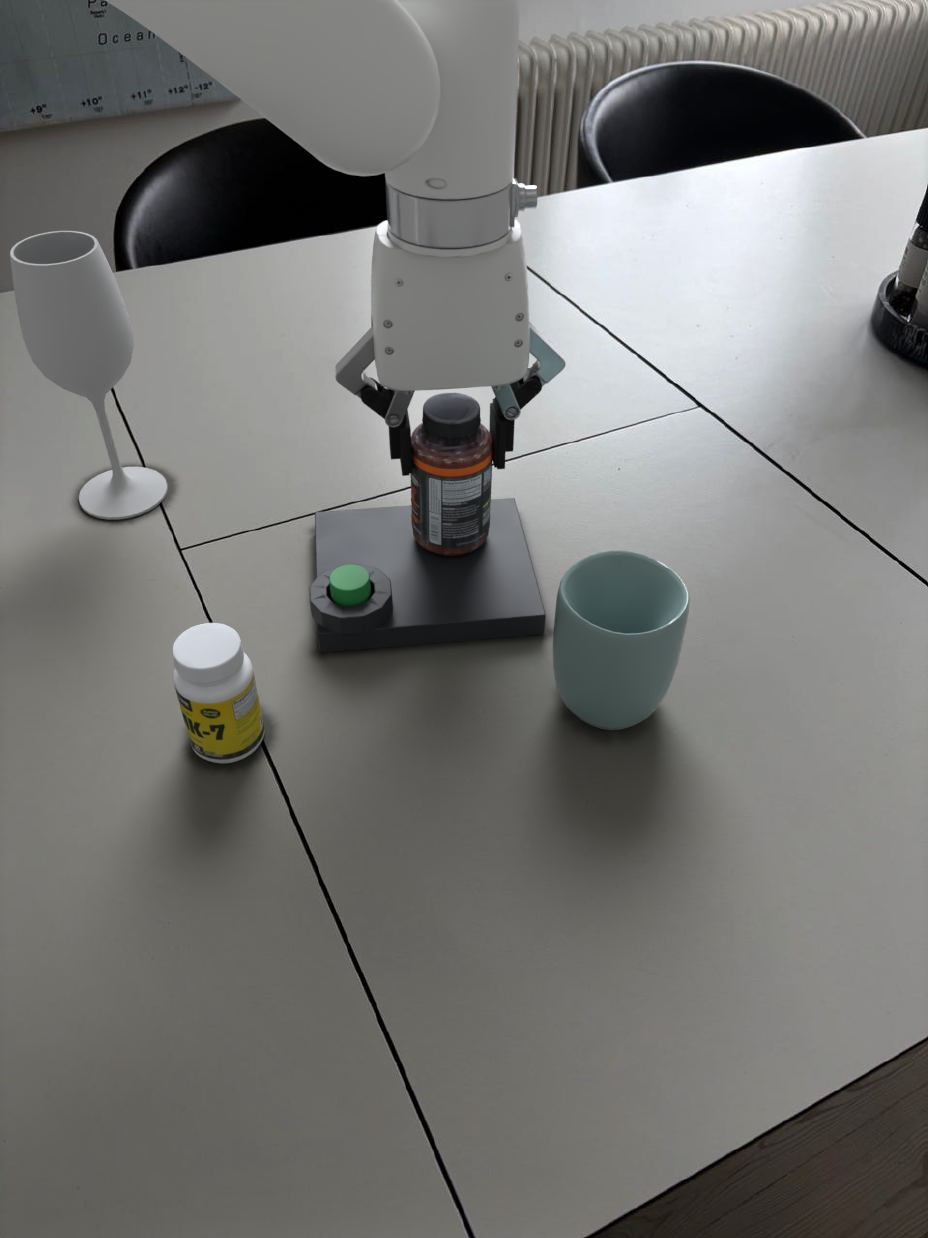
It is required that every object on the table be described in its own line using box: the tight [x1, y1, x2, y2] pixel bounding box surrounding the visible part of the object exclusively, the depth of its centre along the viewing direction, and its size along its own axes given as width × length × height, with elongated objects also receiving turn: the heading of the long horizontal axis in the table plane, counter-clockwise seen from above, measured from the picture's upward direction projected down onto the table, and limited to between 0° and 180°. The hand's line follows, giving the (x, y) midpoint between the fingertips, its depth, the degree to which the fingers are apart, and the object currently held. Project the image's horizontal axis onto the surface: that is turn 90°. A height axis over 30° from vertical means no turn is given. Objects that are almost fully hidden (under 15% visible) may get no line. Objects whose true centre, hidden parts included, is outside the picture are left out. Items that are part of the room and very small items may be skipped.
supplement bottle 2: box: [409, 392, 493, 556], centre depth 73 cm, size 6×6×11 cm
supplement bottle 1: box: [171, 622, 265, 764], centre depth 62 cm, size 5×5×8 cm
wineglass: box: [9, 230, 169, 521], centre depth 77 cm, size 8×8×21 cm
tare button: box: [329, 565, 371, 606], centre depth 70 cm, size 3×3×2 cm
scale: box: [309, 497, 547, 654], centre depth 75 cm, size 16×14×4 cm
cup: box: [552, 550, 691, 731], centre depth 64 cm, size 8×8×10 cm
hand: (451, 459), depth 72 cm, fingers closed on supplement bottle 2, 6 cm apart
